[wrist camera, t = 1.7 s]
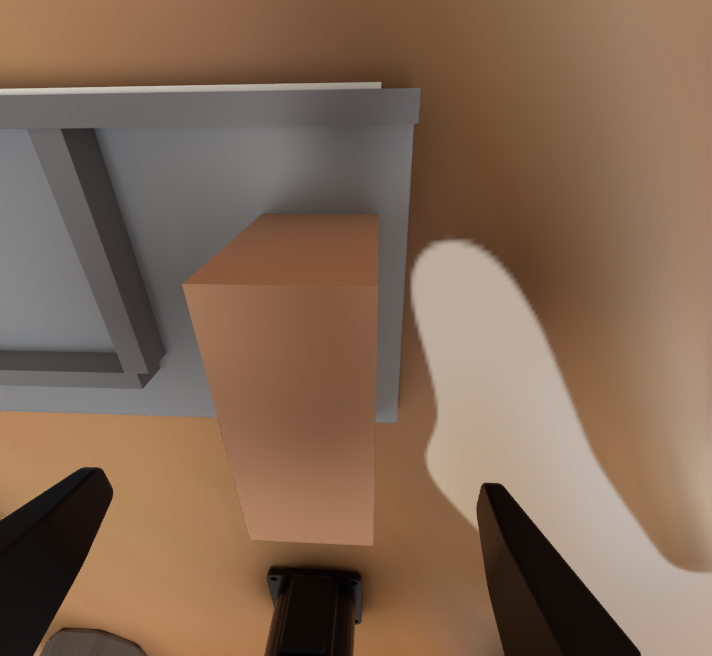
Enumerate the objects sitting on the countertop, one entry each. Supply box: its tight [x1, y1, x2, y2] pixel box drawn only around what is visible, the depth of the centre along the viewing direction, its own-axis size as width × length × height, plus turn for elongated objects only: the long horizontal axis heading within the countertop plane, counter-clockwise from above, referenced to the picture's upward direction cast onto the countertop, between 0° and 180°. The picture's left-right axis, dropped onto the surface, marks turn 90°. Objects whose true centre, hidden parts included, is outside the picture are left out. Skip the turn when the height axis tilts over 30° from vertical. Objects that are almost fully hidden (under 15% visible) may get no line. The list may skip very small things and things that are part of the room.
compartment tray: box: [0, 82, 421, 423], centre depth 14 cm, size 13×24×3 cm, turn 91°
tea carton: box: [182, 214, 379, 546], centre depth 12 cm, size 4×9×6 cm, turn 1°
